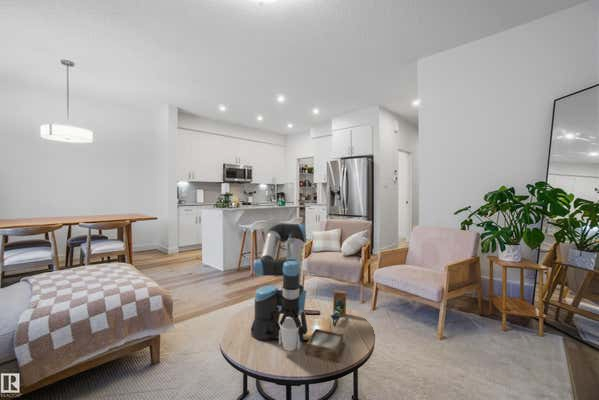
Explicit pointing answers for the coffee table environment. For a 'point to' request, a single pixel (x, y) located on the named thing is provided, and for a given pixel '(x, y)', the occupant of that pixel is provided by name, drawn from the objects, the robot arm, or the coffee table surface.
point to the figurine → (339, 305)
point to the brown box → (325, 345)
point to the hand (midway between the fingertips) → (289, 345)
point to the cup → (289, 334)
